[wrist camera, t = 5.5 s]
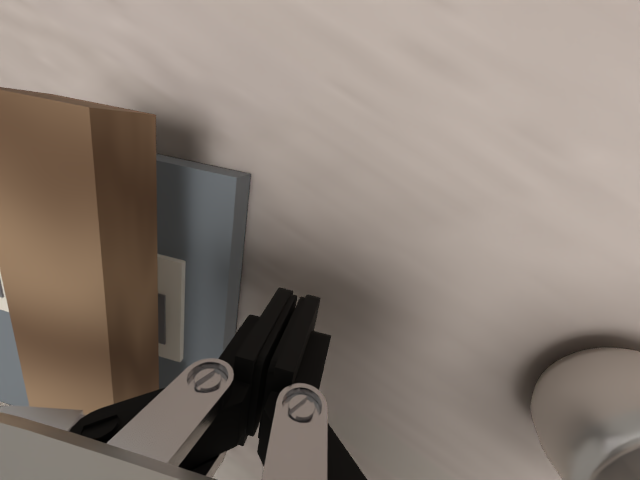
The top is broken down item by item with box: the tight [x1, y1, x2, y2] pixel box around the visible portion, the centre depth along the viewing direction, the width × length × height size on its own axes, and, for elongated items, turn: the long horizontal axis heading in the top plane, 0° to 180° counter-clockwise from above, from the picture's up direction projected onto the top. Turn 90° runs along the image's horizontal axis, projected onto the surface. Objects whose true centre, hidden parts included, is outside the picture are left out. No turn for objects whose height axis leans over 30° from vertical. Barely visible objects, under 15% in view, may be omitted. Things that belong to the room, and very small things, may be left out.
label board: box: [0, 154, 251, 407], centre depth 17 cm, size 19×18×4 cm
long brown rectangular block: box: [0, 87, 159, 415], centre depth 13 cm, size 21×4×2 cm, turn 169°
